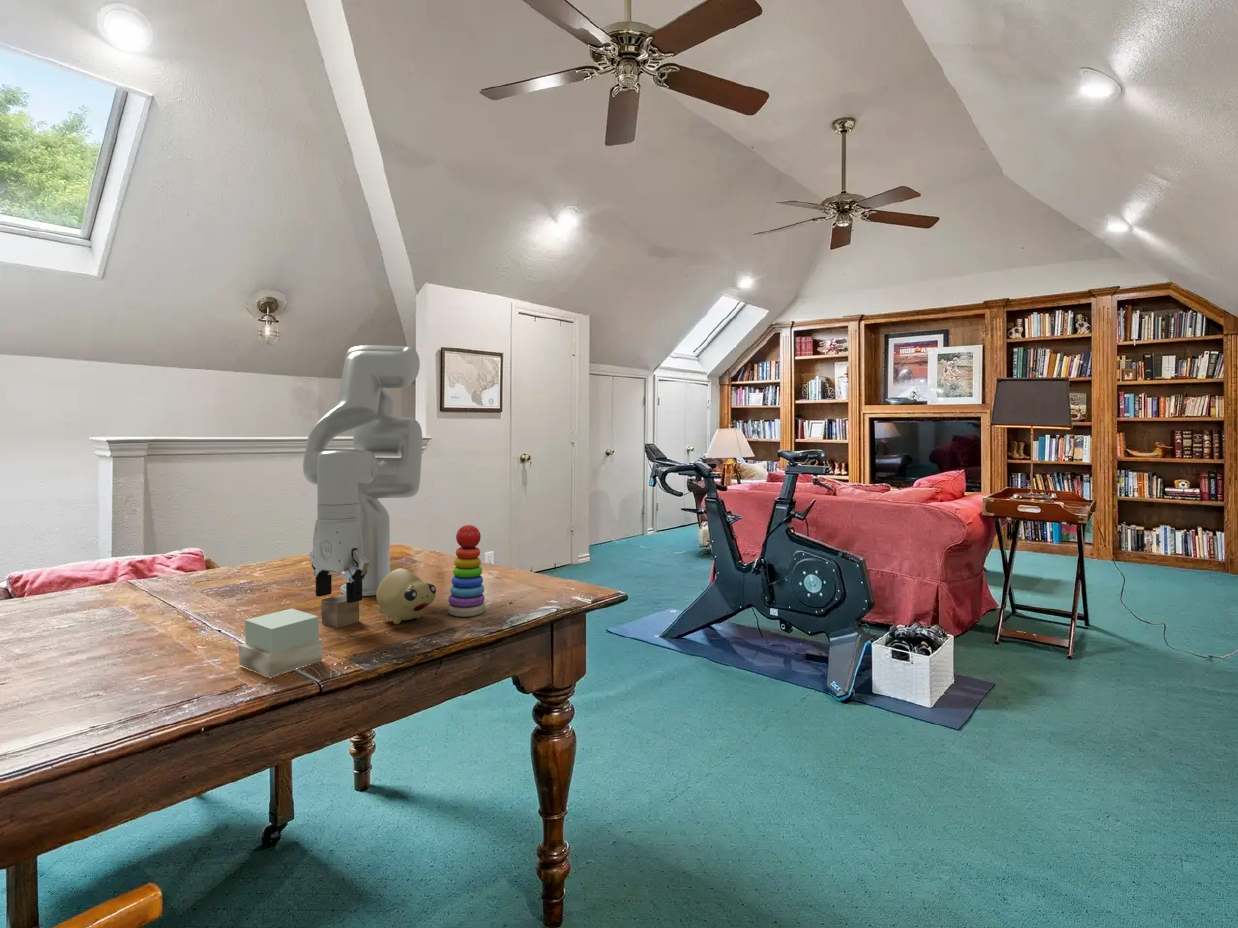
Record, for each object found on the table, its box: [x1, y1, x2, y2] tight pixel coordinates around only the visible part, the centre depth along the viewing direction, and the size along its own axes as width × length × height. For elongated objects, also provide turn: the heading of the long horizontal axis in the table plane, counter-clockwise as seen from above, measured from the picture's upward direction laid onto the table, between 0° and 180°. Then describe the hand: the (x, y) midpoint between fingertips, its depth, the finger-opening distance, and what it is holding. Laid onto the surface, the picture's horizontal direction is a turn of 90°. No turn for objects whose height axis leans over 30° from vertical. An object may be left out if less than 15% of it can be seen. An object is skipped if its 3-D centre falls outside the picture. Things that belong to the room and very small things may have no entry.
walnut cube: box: [320, 593, 360, 629], centre depth 131 cm, size 5×5×5 cm
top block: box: [244, 608, 320, 654], centre depth 109 cm, size 8×8×4 cm
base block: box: [238, 638, 323, 677], centre depth 109 cm, size 9×9×4 cm
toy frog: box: [375, 567, 437, 625], centre depth 132 cm, size 10×12×11 cm
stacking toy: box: [447, 524, 487, 618], centre depth 138 cm, size 8×8×19 cm
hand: (338, 598), depth 129 cm, fingers open, 9 cm apart
